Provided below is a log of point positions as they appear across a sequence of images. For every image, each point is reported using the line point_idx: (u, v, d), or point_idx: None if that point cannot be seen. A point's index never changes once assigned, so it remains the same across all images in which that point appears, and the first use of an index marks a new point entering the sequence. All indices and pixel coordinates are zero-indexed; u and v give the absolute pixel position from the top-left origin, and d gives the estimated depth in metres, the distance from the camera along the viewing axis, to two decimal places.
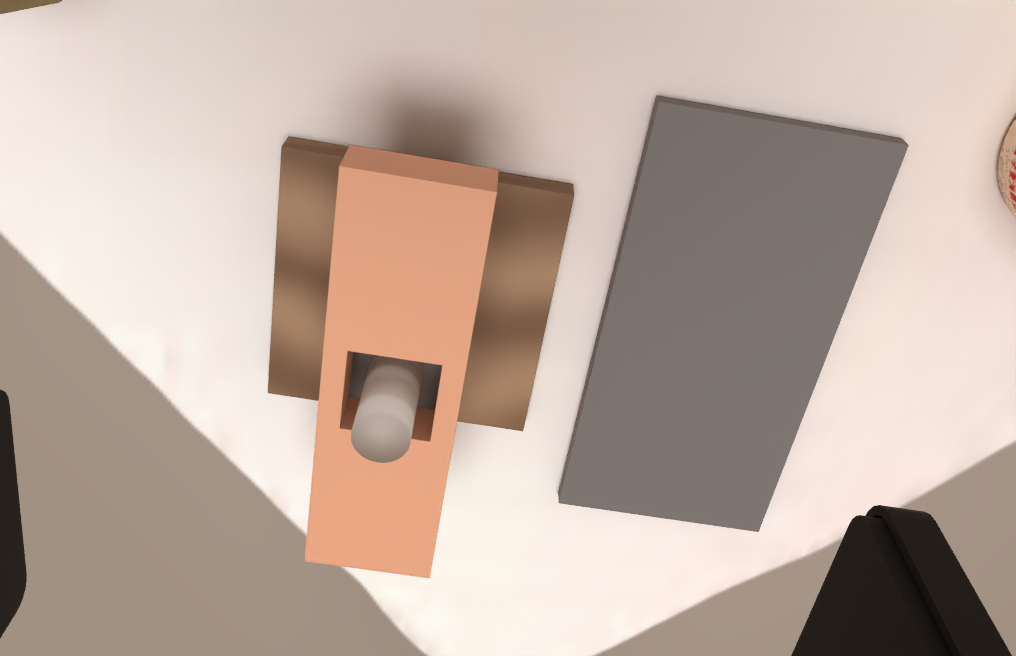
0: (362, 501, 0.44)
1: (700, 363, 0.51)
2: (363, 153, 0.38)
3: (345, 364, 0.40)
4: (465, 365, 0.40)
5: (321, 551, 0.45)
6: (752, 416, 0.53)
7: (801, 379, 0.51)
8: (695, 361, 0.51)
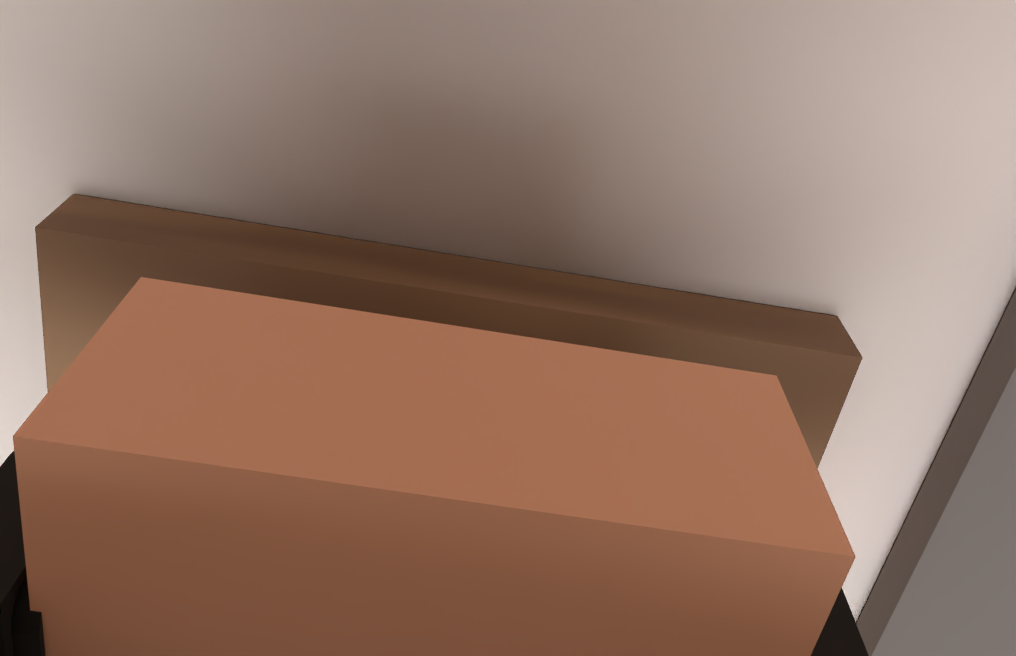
0: None
1: None
2: (186, 324, 0.08)
3: None
4: None
5: None
6: None
7: None
8: None
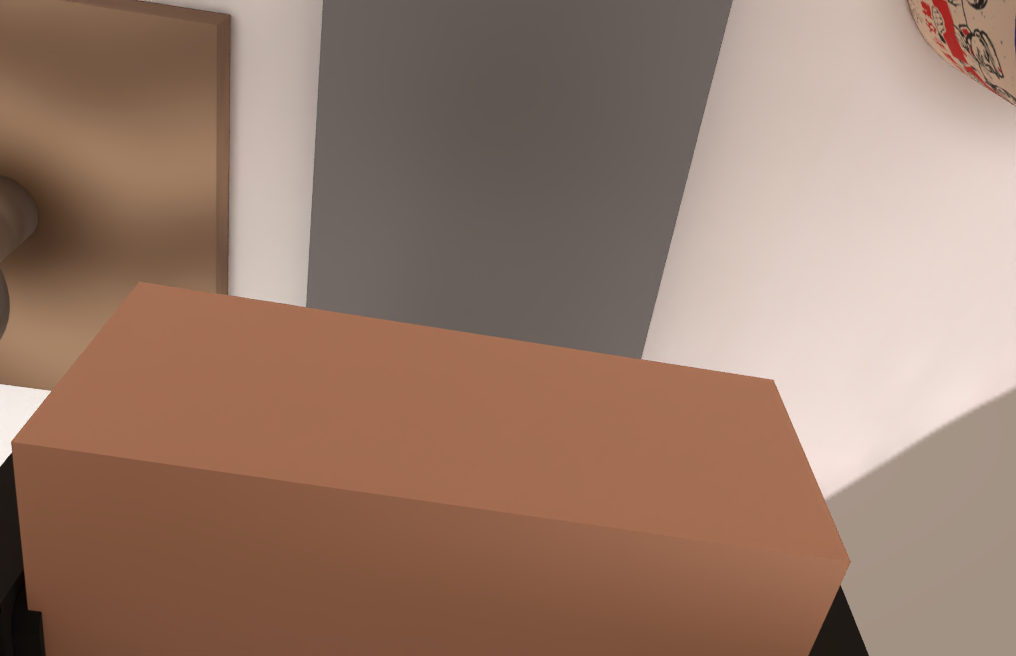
0: None
1: (468, 304, 0.33)
2: (184, 330, 0.08)
3: None
4: None
5: None
6: None
7: (624, 326, 0.34)
8: (460, 300, 0.33)
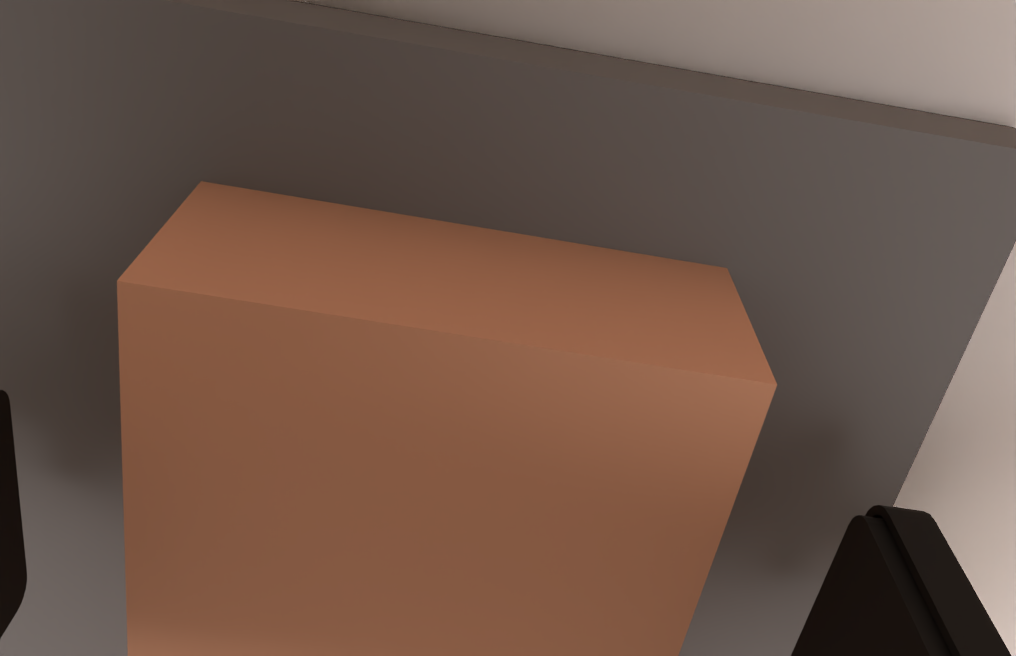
0: None
1: None
2: (241, 215, 0.10)
3: None
4: None
5: None
6: None
7: None
8: None
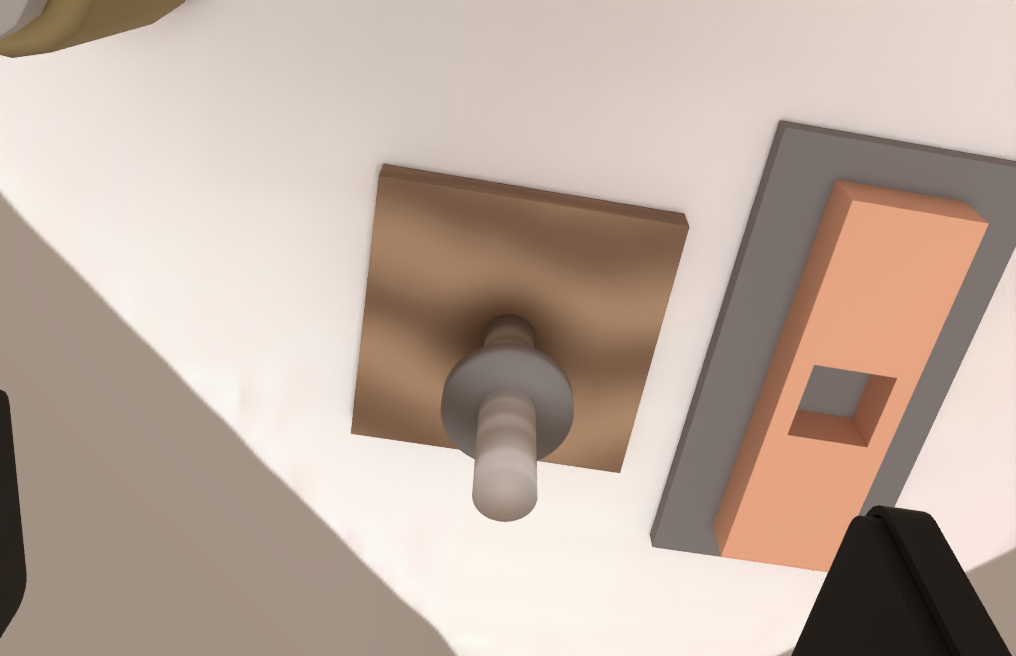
0: (789, 501, 0.48)
1: (811, 402, 0.48)
2: (854, 187, 0.42)
3: (808, 377, 0.45)
4: (918, 378, 0.44)
5: (739, 547, 0.49)
6: None
7: (918, 418, 0.48)
8: (806, 400, 0.48)
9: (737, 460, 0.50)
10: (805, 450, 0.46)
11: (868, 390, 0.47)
